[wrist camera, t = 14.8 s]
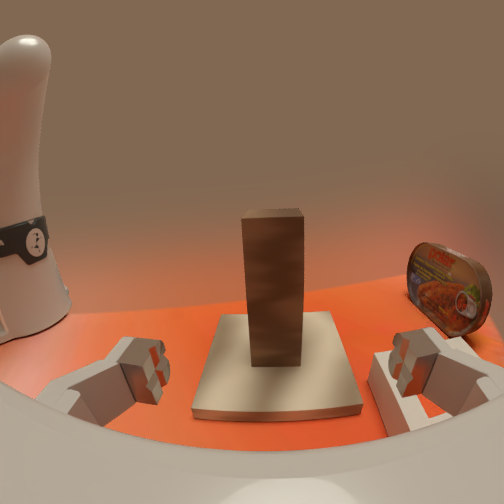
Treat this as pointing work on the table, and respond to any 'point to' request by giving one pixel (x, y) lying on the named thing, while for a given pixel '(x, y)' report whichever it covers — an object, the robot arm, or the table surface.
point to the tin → (449, 288)
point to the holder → (393, 405)
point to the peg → (274, 285)
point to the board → (276, 377)
